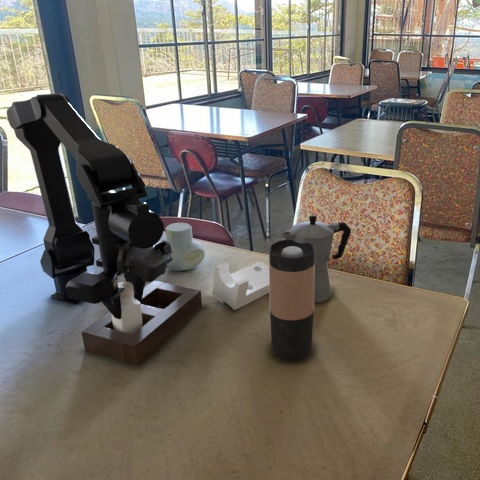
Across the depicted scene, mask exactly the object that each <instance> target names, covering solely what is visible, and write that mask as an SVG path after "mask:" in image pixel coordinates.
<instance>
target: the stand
mask: <svg viewBox="0 0 480 480" xmlns="http://www.w3.org/2000/svg"><path fill="white" fill-rule="evenodd" d="M202 299H203V298H202V290H201V289H195V288H191V287H187V286H183V285H182V286H181V285H176V284H172V283H167V282H162V281H158V280H155V281H153V282H149V283H148V284H147V285H145V287H144V291H143V295H142V300H141V304H140V305H141V314H142V323H143V327H142V328H140V329H139V330H138V331H137V332H136V333H134V334H133V335H132V334H128V333H124V332H120V331H116V330H114V329H113V322H112V315H111V313H110V311H109V312H107V313H105V314H104V315H103V316H101V317H100V318H99V319H97V320H96V321H94V322H92V323H91V324H90V325H88V326H87V327H86V328H84V329H83V330H82V331H81V337H82V342H83V347H84V351H85V352H87V353H88V352H89V353H92V354H96V355H98V356H102V357H106V358H110V359H113V360H117V361H121V362H123V363H127V364H131V365H135V366H140V364H142V363H143V362H144V361H145V360H146V359H147V358H148V357H150V356H151V355H152V354H153V352H155V351H156V350H157V349H158V348H160V346H161V345H163V344H164V343H165V342H166V341H167V340H168V339H169V338H170V337H171V336H172V335H174V334H175V333H176V332H177V331H178V330H179V329H180V328H181V327H182V326H183V325H185V324H186V323H187V322H188V321H189V320H190V319H191V318H192V317H193V316H195V315H196V314H197V313H198V312H199V311H201V309H202V308H203V301H202ZM158 306H162V307H165V308H164V309H163V308H159V307H158Z"/></svg>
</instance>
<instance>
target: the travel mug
mask: <svg viewBox="0 0 480 480" xmlns="http://www.w3.org/2000/svg"><path fill="white" fill-rule="evenodd" d="M268 262H269V263H268V268H269V293H268V294H269V321H270V325H269V326H270V340H271V351H272V354H273V356H274V357H275V358H276V359H278V360H280V361H283V362H287V363H296V362H301V361H303V360H305V359H307V358H308V357H309V356H310V355H311V353H312V349H313V337H314V319H315V303H314V285H315V248H314V246H313V245H312V244H311V243H309V242H305V243H297V242H295V241H294V240H291V239H287V240H286V239H282V240H278V241H275V242H273V243H272V244H271V245H270V246H269V248H268Z"/></svg>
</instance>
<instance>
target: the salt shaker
mask: <svg viewBox="0 0 480 480" xmlns="http://www.w3.org/2000/svg"><path fill="white" fill-rule="evenodd" d="M118 286H119V287H123V288H125V289H124V290H123V291H122V293H121V294H120V301H121V311H122V315H121V319H116V318H115V317H114V316H113V315H112V314H111V315H112V322H113V329H114V330H116V331H120V332H124V333H128V334H132V335H133V334H134V333H136V332H137V331H138V330H139V329H140V328H142V327H143V323H142V314H141V305H140V302H139V301H138V300H137V299H135V298H134V289H133V284H132V283H130V282H126V281H120V282H118Z"/></svg>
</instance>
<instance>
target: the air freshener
mask: <svg viewBox="0 0 480 480" xmlns="http://www.w3.org/2000/svg"><path fill="white" fill-rule="evenodd" d="M164 230H165V239H166V240H165V241H167V242H169V243H170V245H171V250H172V255H171V257H172V258H173V260H172V261H171V262H170V263H168V264H167V267H166V270H170V271H176V272H177V271H178V272H180V271H181V272H183V271H189V270H193V268H195V267H197V266H198V265H200V264H201V263H202V261H203V260H204V258H205V255H206V254H205V253H206V252H205V248H204V246H203V245H202V244H201V243H200V242H198V241H196V240H194V239H193V229H192V225H191V224H189V223H186V222H175V223H170V224H168V225H167V226H166V227H165V228H164Z"/></svg>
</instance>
